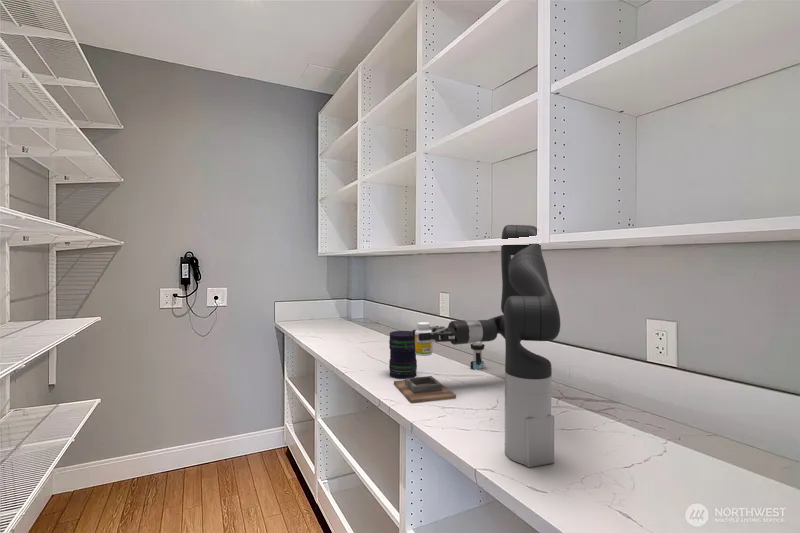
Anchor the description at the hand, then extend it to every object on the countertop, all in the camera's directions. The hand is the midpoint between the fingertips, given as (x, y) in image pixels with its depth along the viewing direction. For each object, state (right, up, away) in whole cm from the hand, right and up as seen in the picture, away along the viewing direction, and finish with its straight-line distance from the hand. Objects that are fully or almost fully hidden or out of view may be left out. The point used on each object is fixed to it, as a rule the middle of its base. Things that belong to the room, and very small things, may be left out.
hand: (415, 335), depth 120 cm
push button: (+25, -17, +27) cm, 40 cm away
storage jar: (-4, -17, +18) cm, 25 cm away
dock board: (+2, -17, +1) cm, 18 cm away
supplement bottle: (+3, -6, +1) cm, 7 cm away
